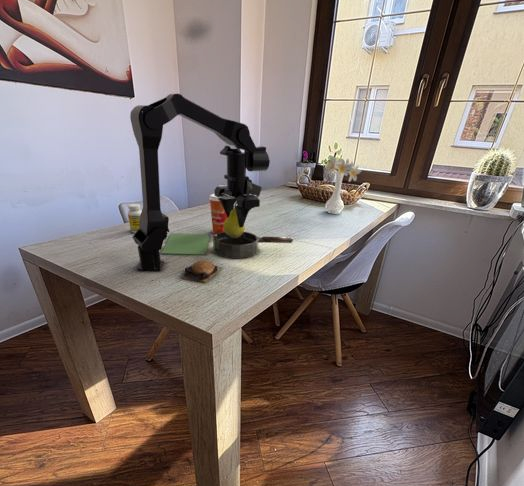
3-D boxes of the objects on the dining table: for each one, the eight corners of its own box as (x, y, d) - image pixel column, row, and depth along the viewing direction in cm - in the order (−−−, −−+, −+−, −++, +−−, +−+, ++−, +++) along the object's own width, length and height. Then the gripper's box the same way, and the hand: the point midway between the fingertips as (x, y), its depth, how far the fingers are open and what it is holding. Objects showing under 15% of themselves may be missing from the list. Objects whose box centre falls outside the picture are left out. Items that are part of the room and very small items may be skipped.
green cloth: (205, 255, 101) (205, 254, 101) (161, 254, 100) (161, 253, 100) (209, 235, 118) (209, 234, 118) (171, 234, 117) (171, 233, 116)
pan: (259, 259, 101) (259, 246, 98) (212, 258, 99) (211, 244, 97) (256, 243, 113) (257, 231, 111) (214, 242, 112) (214, 230, 110)
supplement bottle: (143, 228, 121) (139, 202, 116) (147, 232, 117) (143, 206, 112) (129, 230, 118) (124, 204, 113) (132, 234, 115) (128, 207, 110)
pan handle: (256, 243, 104) (256, 237, 103) (255, 241, 106) (255, 235, 105) (293, 244, 106) (293, 238, 105) (292, 242, 107) (292, 236, 106)
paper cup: (206, 233, 120) (204, 195, 113) (217, 228, 126) (216, 192, 118) (223, 237, 117) (222, 198, 110) (233, 232, 123) (234, 195, 116)
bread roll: (197, 264, 95) (196, 253, 93) (222, 269, 93) (222, 257, 91) (178, 278, 86) (177, 265, 84) (205, 283, 84) (205, 271, 82)
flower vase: (342, 218, 149) (354, 161, 136) (312, 210, 160) (320, 156, 147) (357, 214, 157) (369, 160, 144) (327, 207, 168) (336, 155, 155)
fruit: (219, 236, 103) (219, 198, 98) (236, 235, 107) (236, 198, 103) (231, 239, 99) (231, 199, 94) (248, 238, 103) (249, 200, 98)
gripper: (276, 176, 91) (272, 228, 99) (243, 167, 103) (242, 214, 112) (243, 177, 85) (242, 233, 94) (213, 167, 98) (214, 217, 106)
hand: (235, 224), depth 102 cm, fingers closed on fruit, 7 cm apart
